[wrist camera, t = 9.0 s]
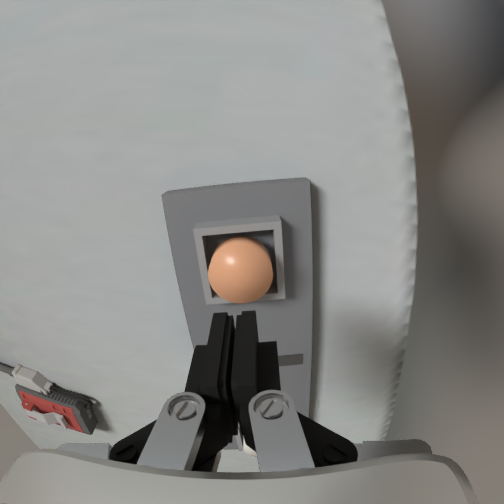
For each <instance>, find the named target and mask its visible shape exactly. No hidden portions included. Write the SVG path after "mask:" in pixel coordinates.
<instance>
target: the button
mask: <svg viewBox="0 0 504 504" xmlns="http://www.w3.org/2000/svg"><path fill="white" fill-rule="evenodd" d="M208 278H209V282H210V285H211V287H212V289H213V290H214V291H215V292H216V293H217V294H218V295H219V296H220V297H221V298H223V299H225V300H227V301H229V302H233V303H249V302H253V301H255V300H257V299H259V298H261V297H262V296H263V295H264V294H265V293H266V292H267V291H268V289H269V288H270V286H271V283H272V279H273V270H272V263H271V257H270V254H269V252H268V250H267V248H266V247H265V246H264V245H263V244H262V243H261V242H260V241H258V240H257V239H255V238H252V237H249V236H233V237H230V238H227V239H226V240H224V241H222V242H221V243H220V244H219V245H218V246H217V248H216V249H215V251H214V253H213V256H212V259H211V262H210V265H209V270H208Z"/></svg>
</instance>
